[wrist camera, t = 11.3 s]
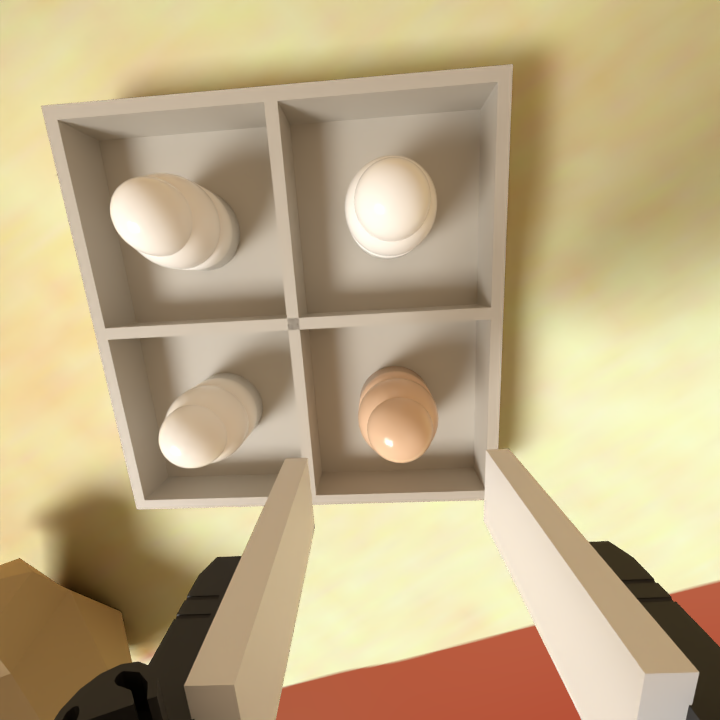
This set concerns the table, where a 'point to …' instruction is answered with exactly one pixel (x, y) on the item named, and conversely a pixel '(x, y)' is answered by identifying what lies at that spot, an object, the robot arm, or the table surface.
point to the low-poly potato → (51, 643)
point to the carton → (300, 277)
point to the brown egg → (397, 414)
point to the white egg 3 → (390, 206)
